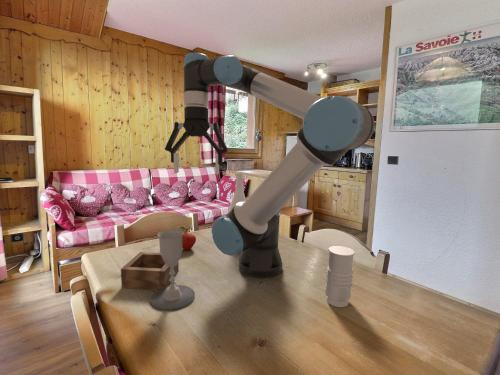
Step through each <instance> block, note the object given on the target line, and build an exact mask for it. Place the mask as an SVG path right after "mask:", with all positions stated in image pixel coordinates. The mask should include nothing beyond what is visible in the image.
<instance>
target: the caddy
mask: <svg viewBox="0 0 500 375" xmlns="http://www.w3.org/2000/svg"><path fill="white" fill-rule="evenodd" d="M174 272H175V274H174V278H176V275H177V274H178V272H179V262H178V263H177V265H176V266H174ZM169 273H170V267H167V265H166V264H165V262H164V260H163V259H162V256H161V254H160V252H149V251H140V252H138V253H137V254H136V255H135V256H134V257H133V258H132V259H130V261H128V262H127V263H126V264H125V265H124V266H122V267H121V268H120V279H121V281H120V282H121V289H129V290H147V291H148V290H149V291H157V290H158V289H160V288H161V289H165V288H166V287H167V286H170V285H171V282H170V281H169V279H170V277H171V276H170V274H169Z"/></svg>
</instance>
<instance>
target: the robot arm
mask: <svg viewBox="0 0 500 375" xmlns="http://www.w3.org/2000/svg"><path fill="white" fill-rule="evenodd" d="M183 61H184V62H183V86H184V87H183V90H184V94H183V96H184V97H183V98H184V99H183V102H184V103H183V104H184V105H185V107H184V111H183V112H184V116H183V117H184V121H183V123H182V122H179V121H175V122H174V126H173V130H172V132H171V134H170V136H169V138H168V140H167V142H166V144H165V147H164V150H165V151H167V152H169V153H170V162H171V163H172V164H173V173H174V174H178V173H180V171H179V170H180V168H179V167H180V166H179V165H180V163H179V162H180V160H179V159H180V158H179V155H180V154H179V152H178V150H179V149H180V148H181V146H182V145H183V144H184V143H185V142H186V140H188V138H189V137H198V138H202V137H204V138H205V139H206V141H208V143H209V144H210V145H211V146H212V147H213V149H214V150H215V151H216V154H215V169H214V170H215V175H217V176H218V175H219V174H220V165H222V164H223V154H225V153H228V152H229V149H228V147H227V144H226V143H225V140H224V138H223V136H222V134H221V132H220V130H219V129H220V128H219V124H218V123H217V122H214V123H210V122H209V108H208V106H209V87H214V86H223V87H227V88H231V89H235V90H238V91H242V92H244V93H246V94H248V95H250V96H253V97H255V98H257V99H260V100H262V101H264V102H265V103H268V104H270V105H272V106H274V107H276V108H278V109H281V110H282V111H285V112H287V113H289V114H291V115H293V116H295V117H297V118H299V119H301V120H303V123H302V124H303V126H301V127H300V129H299V130H298V131H297V133H296V143H295V144H294V146H293V147H292V148H291V149H290V150H288V151H289V152H288V153H286V155H285V156H284V157H283V158H282V160H280V162H278V164H277V165H276V167H274V169H272V171H271V172H270V173H269V174H268V175H267V177H265V178H264V180H263V181H262V182H261V183H260V184H259V186H257V188H255V190H254V191H253V192H252V193H251V194H250V195H249V197H248V198H247V199H246V202H243V201H242V202H238V203H237V204H236V205H235V206H234V207H233V208H232V210H231V211H230V212H229V211H228V212H229V213H227V214H225V215H222V216H219V217H218V218H216V219H215V220H214V221H213V223H212V224H211V225H212V226H211V235H212V236H211V237H212V240H213V242H214V245H215V246H216V248H217V249H218V250H219V251H220V252H221V253H222V254H224V255H227V256H229V257H230V256H233V257H234V256H236V255H240V254H241V255H240V257H239V261H238V268H239V271H240V272H242V273H243V274H245V275H247V276H251V277H254V278H271V277H275V276H276V275H279V274H280V273H281V272H282V271H283V260H282V257H281V253H280V249H279V235H280V217H281V214H280V210H281V209H282V208H284V206H285V205H286V204H287V203H288V202H289V201H291V199H292V198H294V197H295V195H296V194H297V193H298V192H299V191H300V190H301V189H302V188H303V187H304V186H305V185H306V184H307V183H308V182H309V181H310V180H311V179H312V178H313V177H314V176H315V175H316V174H317V173H318V172H319V171H320V170H321V169H322V168H323V167H333V166H334V165H335V164H336V163H337V162H338V161H339V160H340V159H341V158H342V157H343V156H344V155H345V154H346V153H347V152H348V151H349V150H354V149H355V150H356V149H358V148H361V147H362V146H364V145H365V144H366V143H367V142H368V141H369V140H370V139H371V137H372V135H373V133H374V131H375V119H374V116H373V114H372V112H371V111H370V110H369V108H368V107H367V106H365V105H363V104H361V103H360V102H357V101H355V100H353V99H352V98H349V97H347V96H344V95H328V96H324V97H322V96H319V95H318V94H315V93H312V92H310V91H308V90H305V89H303V88H300V87H298V86H296V85H293V84H291V83H288V82H286V81H283V80H281V79H279V78H277V77H276V78H275V77H273V76H271V75H269V74H267V73H264V72H261V71H259V70H258V69H255V68H253V67H250V66H247V65H244V64H242V62H241V61H240V60H239V58H238V57H237V56H236V55H232V54H231V55H226V54H225V55H221V56H218V57H213V58H209V57H208V55H206V54H205V53H201V52H189V53H186V54H185V56H184V59H183ZM183 128H184V132H183V134H182V135H181V137H179V139H178V140H177V137H178V135H179V132H180V131H181V130H182V129H183ZM209 129H211V130H212V131H213V132H214V134H215V137H216V138H217V140H218V142H219V144H217V142H216V141H215V140H214V138H212V137H211V135H210V134H209V132H208V130H209ZM176 140H177V141H176ZM175 141H176V143H175ZM219 145H220V146H221V148H220V146H219Z"/></svg>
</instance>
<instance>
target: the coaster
mask: <svg viewBox="0 0 500 375" xmlns="http://www.w3.org/2000/svg"><path fill="white" fill-rule="evenodd" d="M174 285H175V286H178V287H179V289H180V291H181V293H182V297H181V298H179V299H177V300H173V301H168V300H165V299H164V295H165V292H166V289H167V288H168V287H169V286H170V285H169V286H167V287H166V288H165V289H161V288H160V289H158V290H154V292H152V294H151V295H150V298H149V303H150V305H151V306H152V307H154V308H156V309H158V310H161V311H177V310H179V309H183V308H185V307H187V306H189V305H190V304H192V302H193V301H194V300H195V297H196V294H195V290H194V289H193V288H191V287H190V286H187V285H182V284H174Z"/></svg>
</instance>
